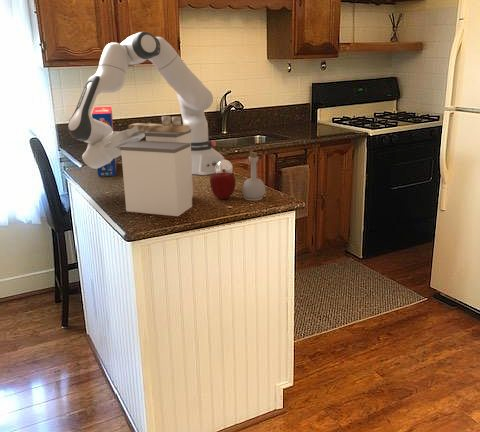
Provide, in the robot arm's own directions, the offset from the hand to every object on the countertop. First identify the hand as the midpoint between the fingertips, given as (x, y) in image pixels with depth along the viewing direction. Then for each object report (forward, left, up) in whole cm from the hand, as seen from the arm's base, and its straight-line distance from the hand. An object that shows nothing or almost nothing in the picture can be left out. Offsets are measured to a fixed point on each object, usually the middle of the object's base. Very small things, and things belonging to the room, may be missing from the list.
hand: (144, 126), depth 192 cm
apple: (-25, +14, -28) cm, 40 cm away
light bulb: (-31, +2, -28) cm, 41 cm away
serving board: (-4, +4, -1) cm, 6 cm away
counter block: (-3, +12, -27) cm, 30 cm away
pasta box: (+3, -58, -28) cm, 64 cm away
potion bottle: (-35, +20, -28) cm, 49 cm away
